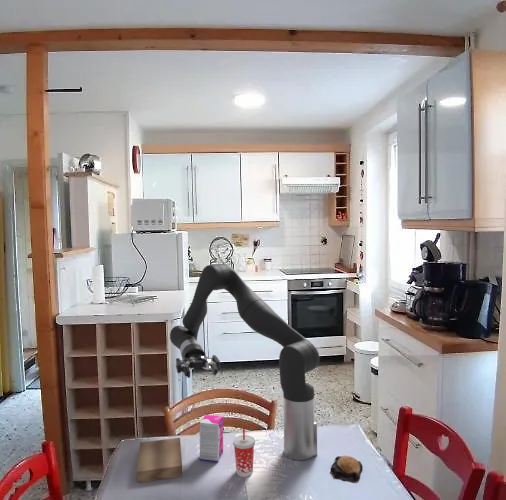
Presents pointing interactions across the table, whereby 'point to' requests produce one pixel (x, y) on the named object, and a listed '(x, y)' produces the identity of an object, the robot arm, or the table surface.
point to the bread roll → (346, 469)
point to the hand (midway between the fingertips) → (202, 373)
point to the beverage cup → (244, 453)
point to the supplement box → (211, 438)
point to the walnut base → (159, 460)
